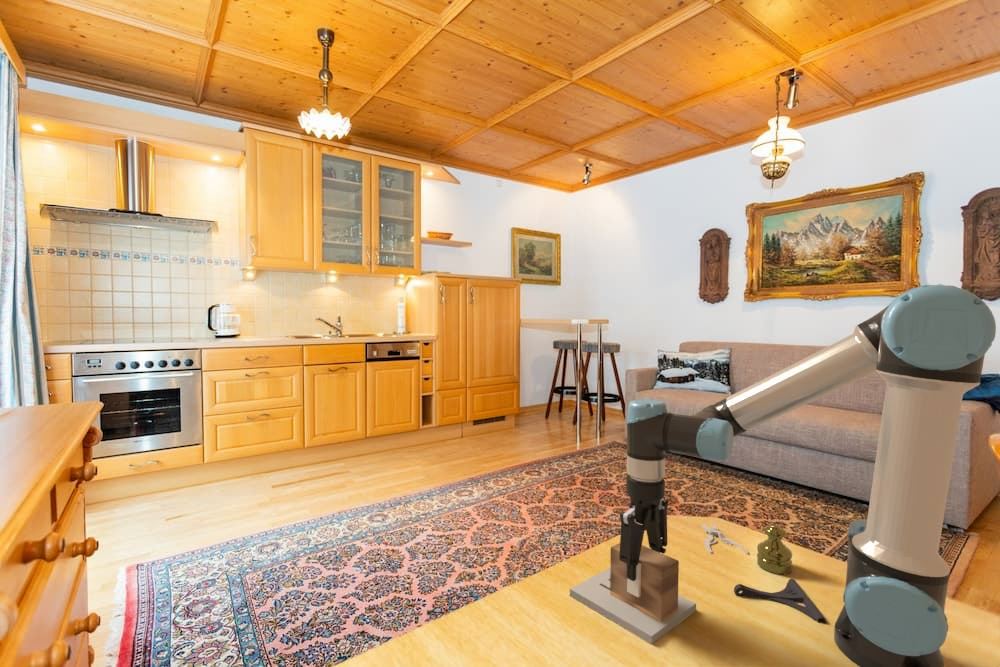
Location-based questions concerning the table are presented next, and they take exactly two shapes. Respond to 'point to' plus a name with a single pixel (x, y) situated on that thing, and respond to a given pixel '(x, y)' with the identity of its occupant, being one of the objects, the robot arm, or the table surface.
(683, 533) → the table surface
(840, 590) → the table surface
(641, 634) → the board
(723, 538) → the pliers
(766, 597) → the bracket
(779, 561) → the brass door knob
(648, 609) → the block
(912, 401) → the robot arm
